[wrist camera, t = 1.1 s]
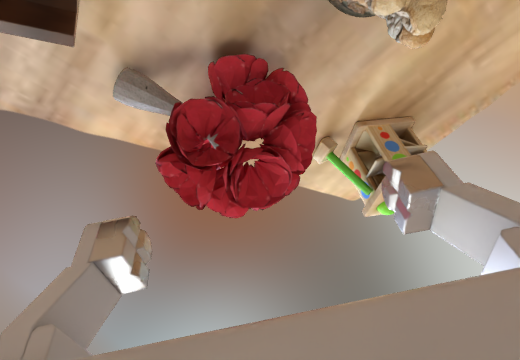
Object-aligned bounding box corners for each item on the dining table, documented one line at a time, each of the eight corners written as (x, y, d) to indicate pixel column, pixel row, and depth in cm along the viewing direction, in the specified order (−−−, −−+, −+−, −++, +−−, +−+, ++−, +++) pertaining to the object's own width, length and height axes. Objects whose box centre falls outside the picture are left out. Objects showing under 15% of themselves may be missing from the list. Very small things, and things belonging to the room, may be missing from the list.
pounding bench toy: (304, 167, 82) (331, 232, 72) (320, 124, 71) (354, 193, 61) (387, 157, 88) (422, 216, 78) (413, 116, 77) (459, 178, 66)
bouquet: (146, 110, 65) (286, 174, 68) (68, 188, 47) (263, 271, 50) (167, -5, 51) (343, 81, 54) (68, 44, 33) (338, 170, 36)
